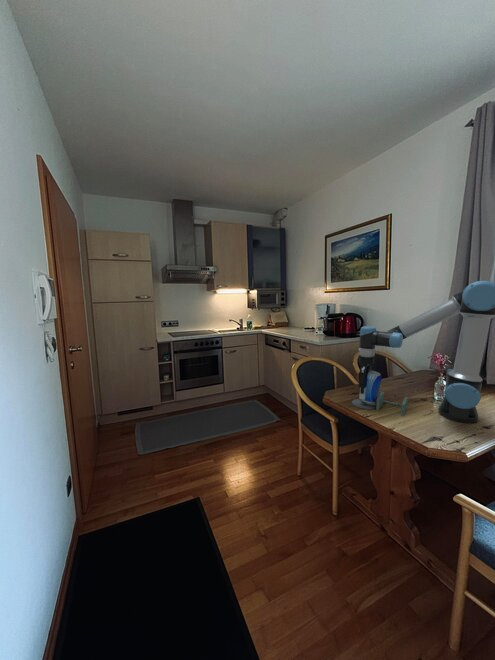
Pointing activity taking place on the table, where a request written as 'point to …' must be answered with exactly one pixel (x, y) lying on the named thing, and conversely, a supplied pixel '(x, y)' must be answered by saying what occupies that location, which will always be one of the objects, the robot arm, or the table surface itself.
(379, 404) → the rack
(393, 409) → the table surface
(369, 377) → the beer can
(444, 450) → the table surface
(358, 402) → the flat grey disc
